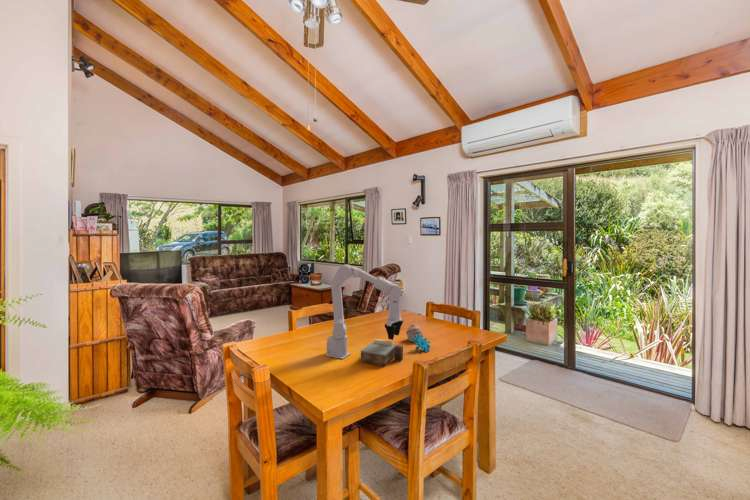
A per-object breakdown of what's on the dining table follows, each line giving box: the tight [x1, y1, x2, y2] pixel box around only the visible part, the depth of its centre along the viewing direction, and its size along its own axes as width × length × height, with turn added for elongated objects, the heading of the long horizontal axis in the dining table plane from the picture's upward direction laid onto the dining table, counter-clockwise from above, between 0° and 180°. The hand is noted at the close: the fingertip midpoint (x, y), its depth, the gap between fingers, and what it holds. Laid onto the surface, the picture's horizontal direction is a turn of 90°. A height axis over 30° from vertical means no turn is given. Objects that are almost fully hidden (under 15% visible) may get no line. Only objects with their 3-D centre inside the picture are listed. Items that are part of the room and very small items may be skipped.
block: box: [394, 344, 404, 362], centre depth 166 cm, size 3×3×6 cm
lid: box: [360, 338, 397, 356], centre depth 166 cm, size 12×15×2 cm
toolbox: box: [360, 348, 395, 368], centre depth 167 cm, size 12×15×4 cm
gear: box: [414, 334, 432, 353], centre depth 181 cm, size 11×6×10 cm
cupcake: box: [405, 322, 423, 343], centre depth 195 cm, size 9×9×10 cm
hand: (393, 337), depth 171 cm, fingers open, 7 cm apart
